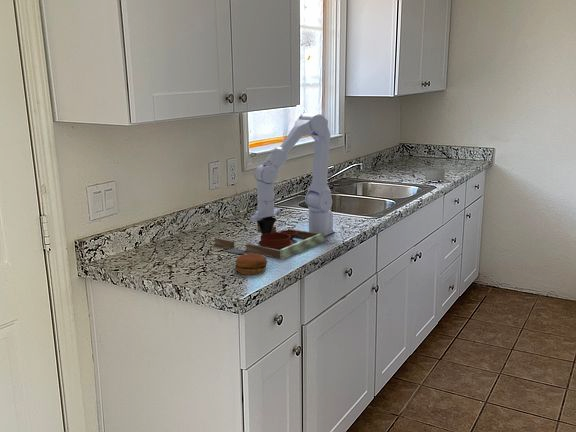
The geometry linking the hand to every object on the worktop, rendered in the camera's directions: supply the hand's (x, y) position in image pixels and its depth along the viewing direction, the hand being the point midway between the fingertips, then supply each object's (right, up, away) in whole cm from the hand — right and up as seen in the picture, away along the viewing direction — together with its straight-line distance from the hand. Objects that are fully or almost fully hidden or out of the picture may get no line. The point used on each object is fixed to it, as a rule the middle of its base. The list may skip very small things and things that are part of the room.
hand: (266, 238), depth 200 cm
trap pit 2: (+7, +1, +13) cm, 15 cm away
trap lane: (+1, -2, -1) cm, 2 cm away
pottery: (+5, -3, -3) cm, 6 cm away
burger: (-4, -9, -28) cm, 30 cm away
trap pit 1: (-10, -4, -10) cm, 15 cm away
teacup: (+89, +27, +117) cm, 150 cm away
